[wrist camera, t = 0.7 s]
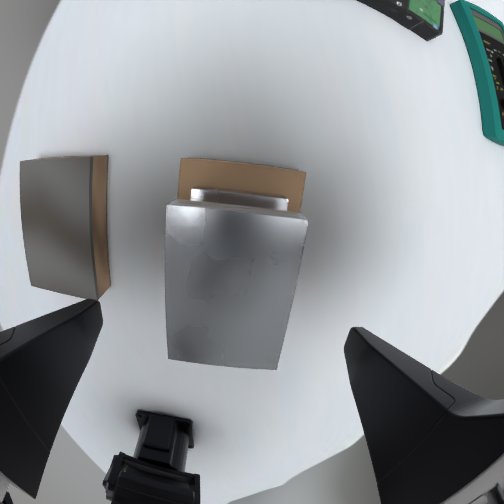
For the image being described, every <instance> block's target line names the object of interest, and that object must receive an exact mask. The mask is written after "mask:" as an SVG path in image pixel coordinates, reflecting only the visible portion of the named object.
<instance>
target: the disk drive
mask: <svg viewBox="0 0 504 504" xmlns="http://www.w3.org/2000/svg"><path fill="white" fill-rule="evenodd" d="M357 1H359V2H361V3H364V4H366V5H367V6H369V7H372V8H373V9H376V10H377V11H379V12H381V13H383V14H385V15H386V16H388V17H390V18H392V19H393V20H395V21H397V22H398V23H399V24H401V25H402V26H404V27H406V28H407V29H409V30H411V31H413V32H414V33H416V34H417V35H419V36H420V37H421V38H423V39H425V40H426V41H429V40H431V39H433V38H436V37H437V36H439V35H441V34H442V32H443V18H444V8H443V7H444V6H445V0H357Z"/></svg>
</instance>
